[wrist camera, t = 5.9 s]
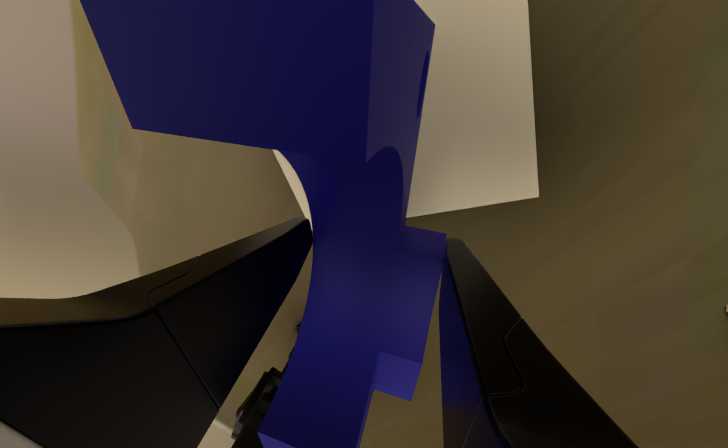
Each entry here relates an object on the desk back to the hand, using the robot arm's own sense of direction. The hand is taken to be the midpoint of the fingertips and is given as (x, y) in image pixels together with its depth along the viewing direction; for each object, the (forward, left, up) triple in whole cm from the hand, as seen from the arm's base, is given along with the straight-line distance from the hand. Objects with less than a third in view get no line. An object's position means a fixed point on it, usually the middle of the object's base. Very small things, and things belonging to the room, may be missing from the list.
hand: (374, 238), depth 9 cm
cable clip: (0, 0, -2) cm, 2 cm away
